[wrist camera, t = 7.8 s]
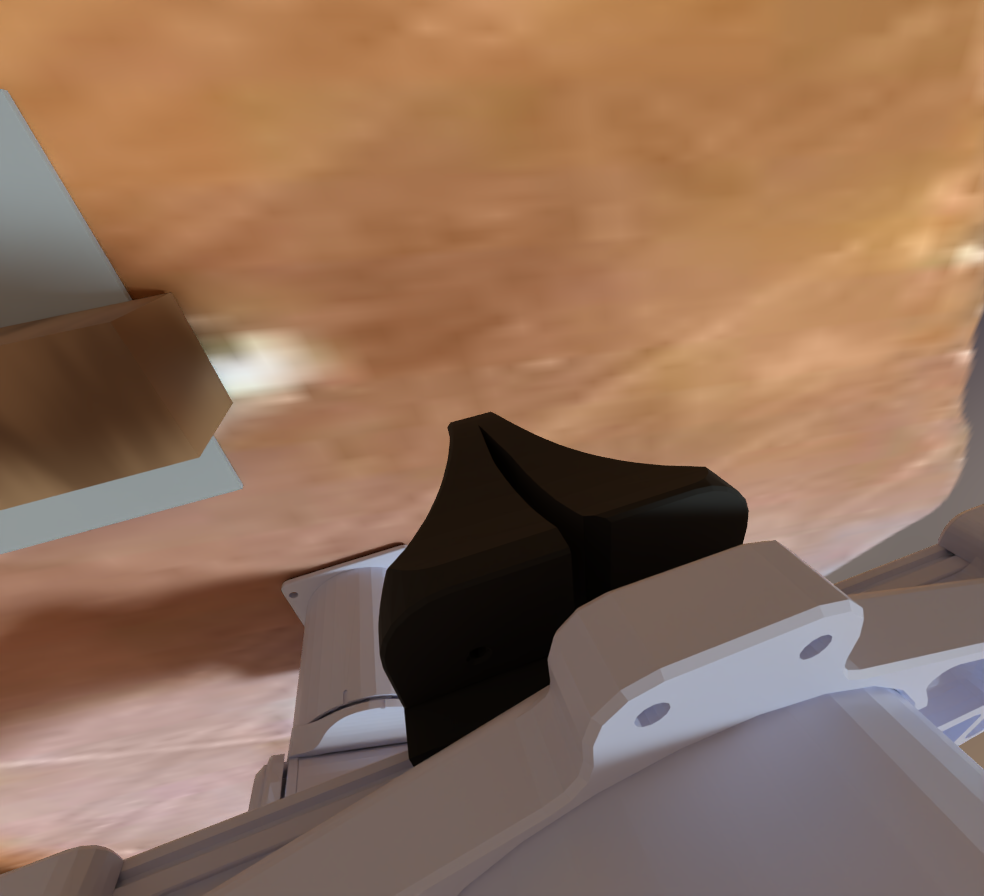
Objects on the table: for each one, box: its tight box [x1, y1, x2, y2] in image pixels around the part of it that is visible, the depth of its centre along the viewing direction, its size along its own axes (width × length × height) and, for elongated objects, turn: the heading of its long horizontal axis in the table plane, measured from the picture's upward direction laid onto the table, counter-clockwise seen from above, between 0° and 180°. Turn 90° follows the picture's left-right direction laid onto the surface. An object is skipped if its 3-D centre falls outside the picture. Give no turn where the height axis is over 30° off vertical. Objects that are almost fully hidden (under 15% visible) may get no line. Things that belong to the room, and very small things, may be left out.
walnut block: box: [0, 292, 233, 510], centre depth 15 cm, size 5×5×9 cm
